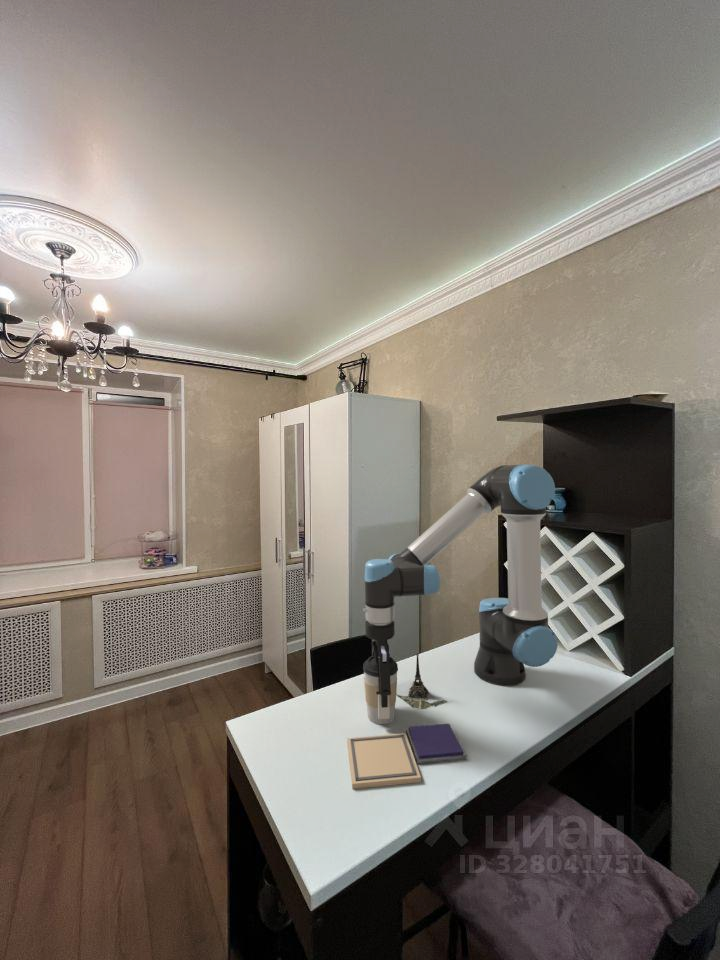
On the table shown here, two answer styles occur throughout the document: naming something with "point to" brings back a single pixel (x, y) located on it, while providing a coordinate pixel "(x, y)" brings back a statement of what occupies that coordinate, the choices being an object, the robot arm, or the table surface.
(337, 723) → the table surface
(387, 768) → the square wooden board
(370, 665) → the coffee cup
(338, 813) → the table surface
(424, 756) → the ink pad
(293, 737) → the table surface
